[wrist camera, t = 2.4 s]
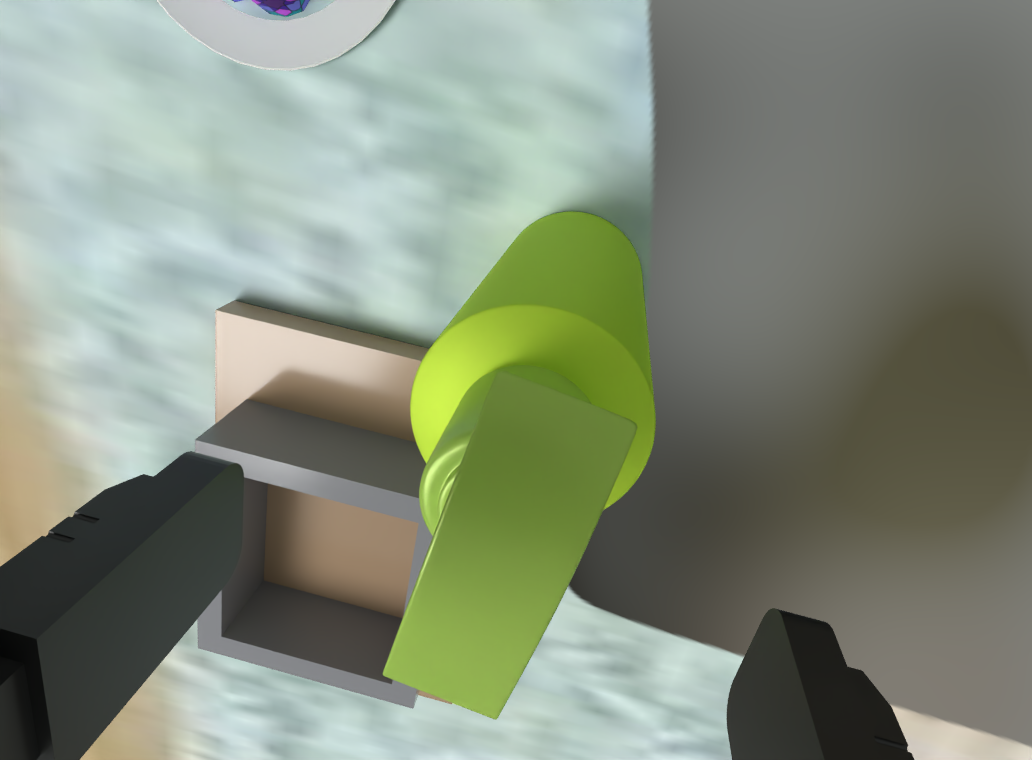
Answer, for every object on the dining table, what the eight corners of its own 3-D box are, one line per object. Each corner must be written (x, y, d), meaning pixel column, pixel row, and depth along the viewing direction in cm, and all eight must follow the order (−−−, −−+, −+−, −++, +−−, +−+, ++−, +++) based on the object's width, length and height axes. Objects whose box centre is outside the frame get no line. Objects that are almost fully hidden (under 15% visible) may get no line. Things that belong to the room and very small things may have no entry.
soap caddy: (234, 300, 30) (155, 340, 25) (528, 373, 29) (507, 429, 24) (229, 618, 38) (170, 696, 33) (458, 682, 38) (432, 771, 33)
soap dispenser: (677, 218, 26) (803, 508, 7) (609, 367, 28) (579, 837, 10) (538, 163, 26) (326, 321, 7) (484, 319, 28) (236, 704, 10)
